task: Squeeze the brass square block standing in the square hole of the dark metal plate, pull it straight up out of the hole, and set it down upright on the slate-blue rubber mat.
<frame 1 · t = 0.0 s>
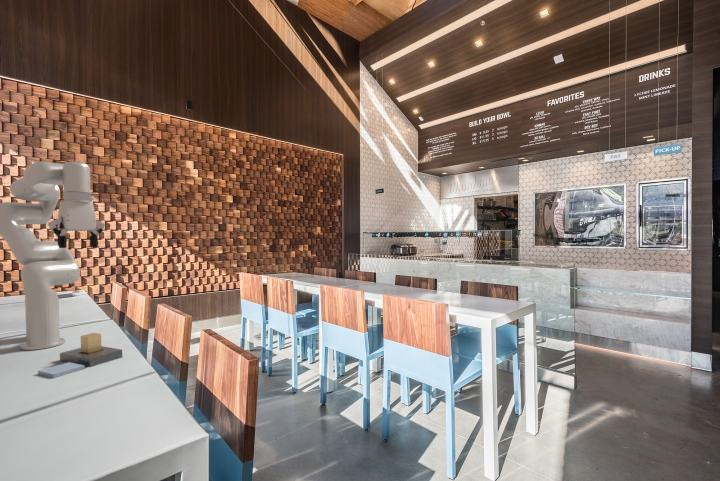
hand: (78, 247, 128), 37 cm above the table, tool pointing down, fingers open, 9 cm apart
mat: (61, 371, 110), on the table
brass block: (91, 359, 121), resting in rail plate
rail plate: (91, 358, 121), on the table
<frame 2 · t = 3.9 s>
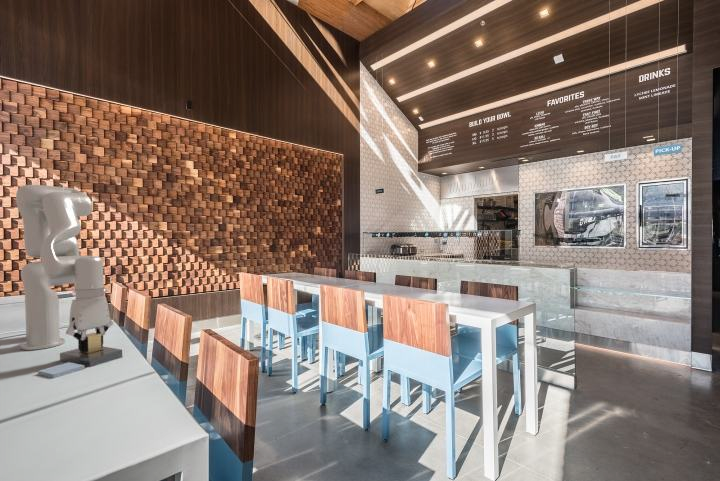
hand: (91, 349, 121), 3 cm above the table, tool pointing down, fingers closed on brass block, 4 cm apart
brass block: (91, 358, 121), resting in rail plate, touching gripper
everything else where it was.
when the fingers open (6 cm above the table, at t = 11.2 s): brass block drops 1 cm, resting on mat.
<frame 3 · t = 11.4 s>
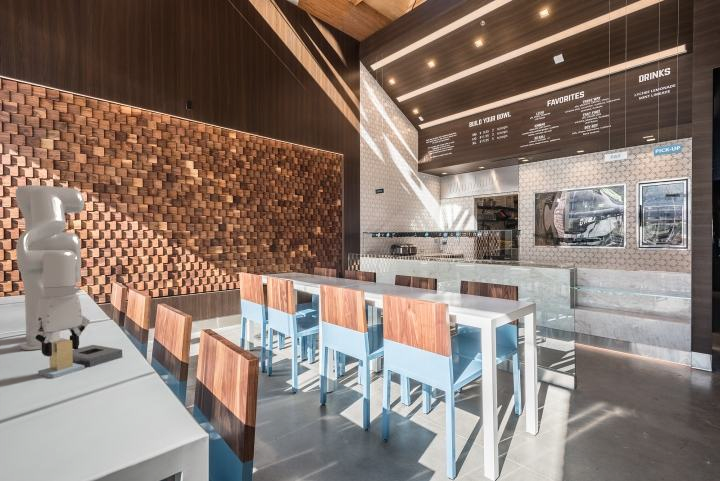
hand: (61, 351, 110), 6 cm above the table, tool pointing down, fingers open, 6 cm apart
brass block: (61, 368, 110), point 1 cm above the table, touching mat
everything else where it was.
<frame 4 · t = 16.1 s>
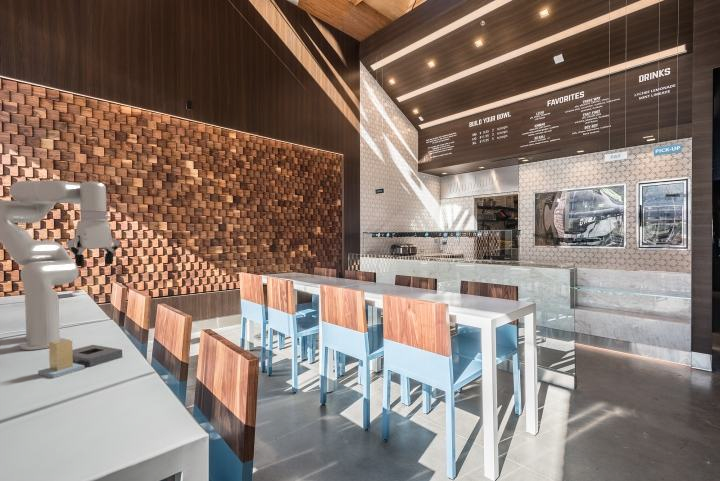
hand: (95, 265, 131), 30 cm above the table, tool pointing down, fingers open, 9 cm apart
nothing on the table moved.
at the end: brass block 0.1 cm off-centre on the mat, point 1.0 cm above the mat's base; brass block tilted 0°; the gripper is holding nothing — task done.
